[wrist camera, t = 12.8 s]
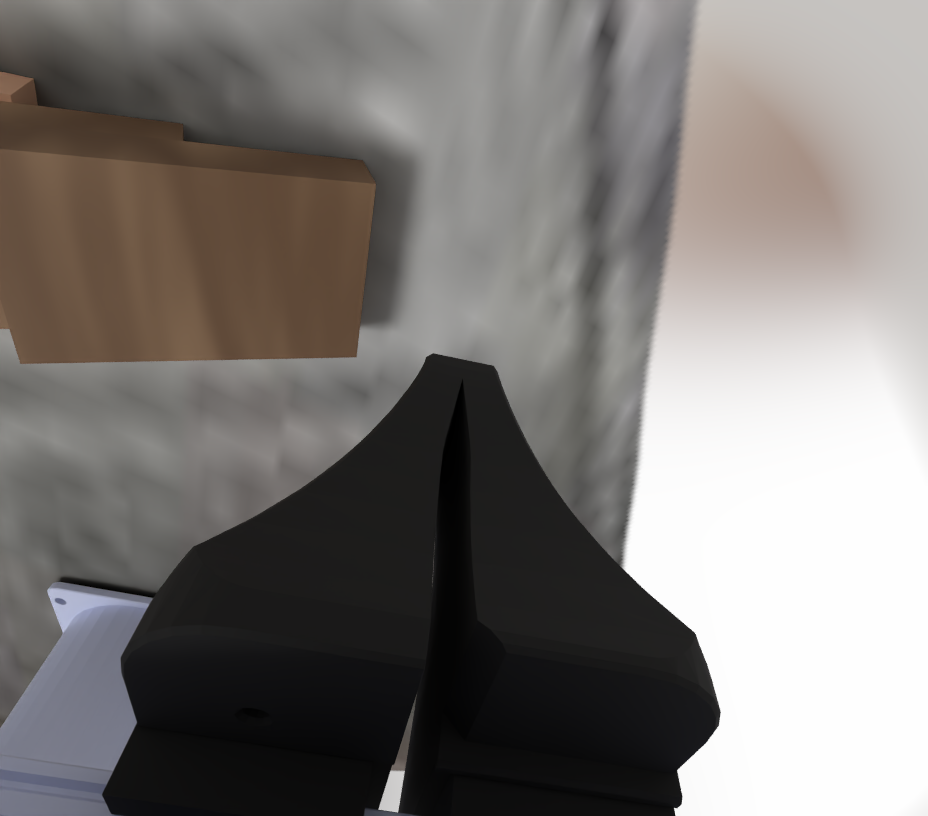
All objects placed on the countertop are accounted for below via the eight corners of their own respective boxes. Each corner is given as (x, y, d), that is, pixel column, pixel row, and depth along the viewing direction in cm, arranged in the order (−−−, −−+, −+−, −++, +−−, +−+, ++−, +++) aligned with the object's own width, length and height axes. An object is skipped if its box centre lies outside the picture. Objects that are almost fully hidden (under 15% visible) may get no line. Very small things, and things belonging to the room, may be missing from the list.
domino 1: (183, 145, 13) (-319, 89, 10) (196, 328, 17) (-189, 328, 13) (182, 123, 15) (-271, 67, 11) (195, 299, 18) (-161, 293, 14)
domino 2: (375, 183, 14) (-50, 144, 11) (356, 357, 17) (20, 363, 14) (362, 160, 15) (-27, 118, 12) (346, 326, 18) (33, 326, 15)
